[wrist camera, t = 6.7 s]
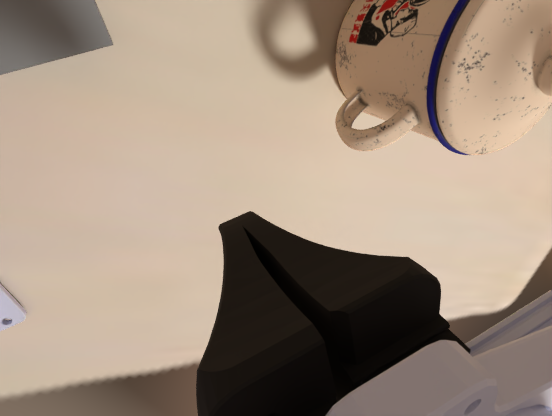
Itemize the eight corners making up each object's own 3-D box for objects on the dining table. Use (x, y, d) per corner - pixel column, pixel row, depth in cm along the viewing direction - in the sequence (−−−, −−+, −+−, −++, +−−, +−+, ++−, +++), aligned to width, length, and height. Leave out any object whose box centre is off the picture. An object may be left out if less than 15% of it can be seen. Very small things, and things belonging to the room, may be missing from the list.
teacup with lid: (422, -69, 20) (686, -135, 11) (451, 64, 26) (645, 94, 17) (267, 59, 20) (407, 100, 11) (330, 166, 26) (458, 253, 16)
